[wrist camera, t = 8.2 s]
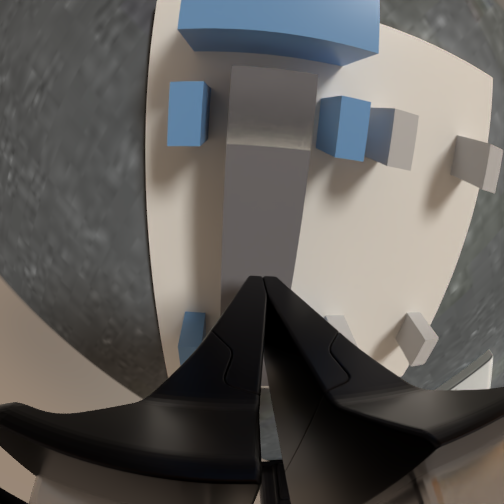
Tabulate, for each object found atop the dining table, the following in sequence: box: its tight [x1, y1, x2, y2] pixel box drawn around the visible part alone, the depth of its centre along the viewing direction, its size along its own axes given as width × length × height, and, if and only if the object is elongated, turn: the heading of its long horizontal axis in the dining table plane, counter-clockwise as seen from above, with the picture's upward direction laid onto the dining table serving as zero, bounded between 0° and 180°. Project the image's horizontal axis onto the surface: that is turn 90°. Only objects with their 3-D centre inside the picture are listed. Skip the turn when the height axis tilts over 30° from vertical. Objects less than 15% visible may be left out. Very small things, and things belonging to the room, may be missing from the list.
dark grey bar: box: [220, 65, 318, 386], centre depth 11 cm, size 13×2×2 cm, turn 176°
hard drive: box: [435, 350, 493, 390], centre depth 22 cm, size 2×8×12 cm
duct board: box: [145, 0, 503, 388], centre depth 11 cm, size 20×16×4 cm
